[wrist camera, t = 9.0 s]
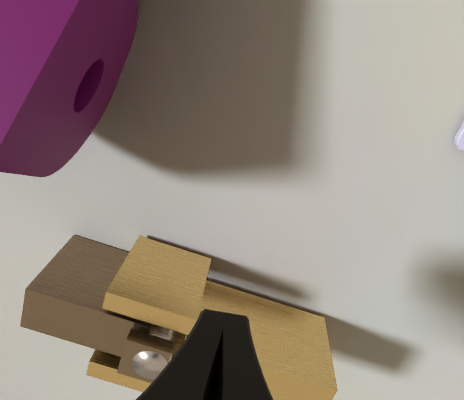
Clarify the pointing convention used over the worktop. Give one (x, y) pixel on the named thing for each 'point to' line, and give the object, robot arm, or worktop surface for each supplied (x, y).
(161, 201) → the worktop surface
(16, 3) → the mounting bracket
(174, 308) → the loose leaf
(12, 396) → the worktop surface
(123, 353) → the fixed leaf
